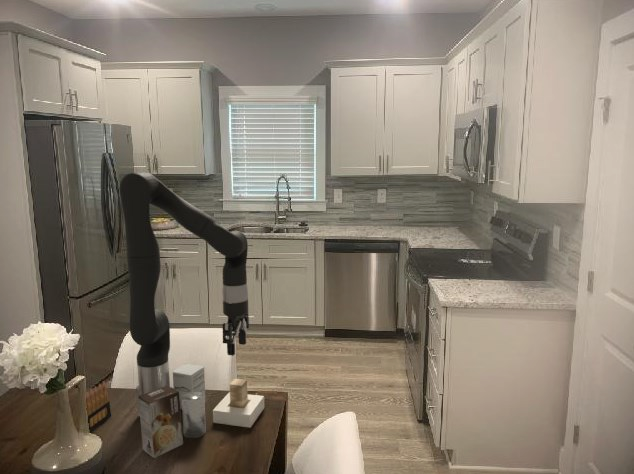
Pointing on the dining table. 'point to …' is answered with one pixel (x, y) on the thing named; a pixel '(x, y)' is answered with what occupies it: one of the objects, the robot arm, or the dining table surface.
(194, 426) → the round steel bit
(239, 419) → the socket block
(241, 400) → the square peg
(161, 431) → the coffee box
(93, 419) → the ammunition clip
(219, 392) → the dining table surface
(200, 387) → the supplement box
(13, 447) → the dining table surface
